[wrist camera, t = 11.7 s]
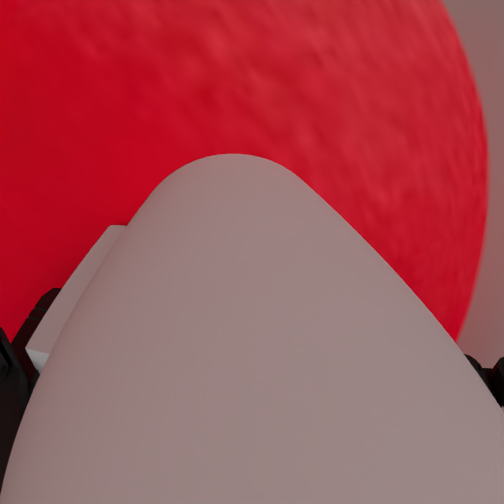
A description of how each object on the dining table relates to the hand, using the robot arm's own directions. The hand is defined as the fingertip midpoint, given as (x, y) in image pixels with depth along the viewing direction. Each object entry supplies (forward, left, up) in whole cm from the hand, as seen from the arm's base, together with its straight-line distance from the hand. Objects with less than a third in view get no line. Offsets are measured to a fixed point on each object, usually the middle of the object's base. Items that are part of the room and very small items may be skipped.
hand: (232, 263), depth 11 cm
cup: (0, 0, -1) cm, 1 cm away
